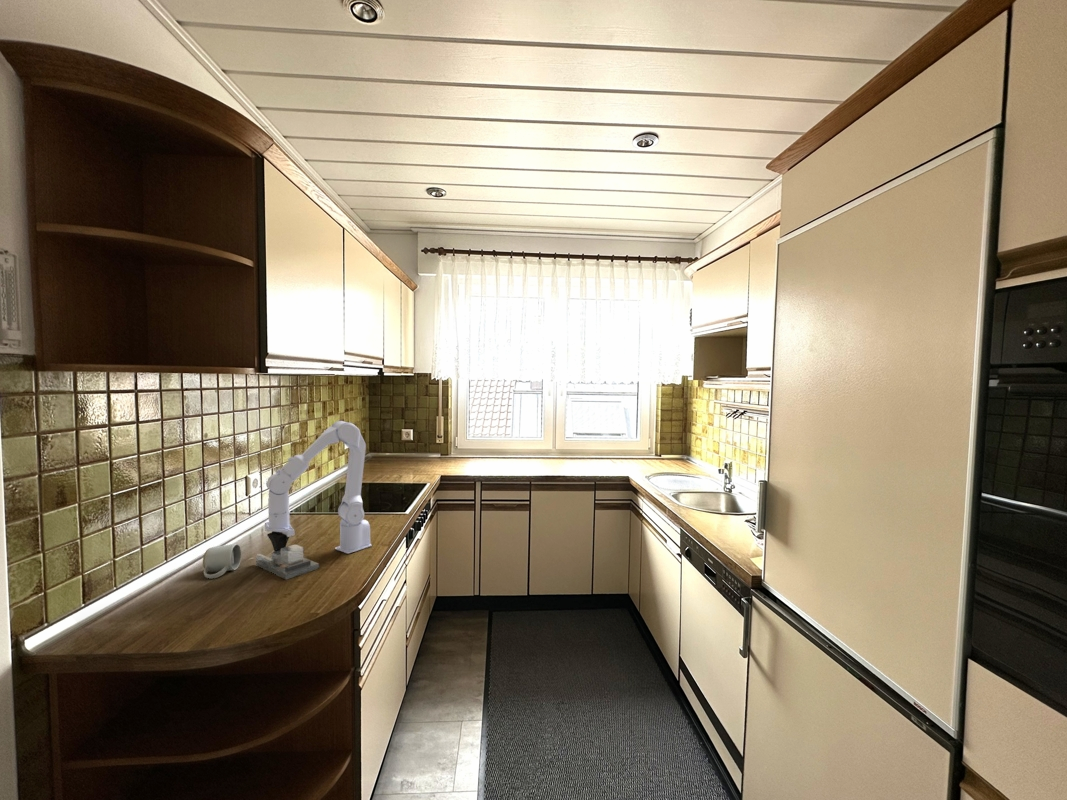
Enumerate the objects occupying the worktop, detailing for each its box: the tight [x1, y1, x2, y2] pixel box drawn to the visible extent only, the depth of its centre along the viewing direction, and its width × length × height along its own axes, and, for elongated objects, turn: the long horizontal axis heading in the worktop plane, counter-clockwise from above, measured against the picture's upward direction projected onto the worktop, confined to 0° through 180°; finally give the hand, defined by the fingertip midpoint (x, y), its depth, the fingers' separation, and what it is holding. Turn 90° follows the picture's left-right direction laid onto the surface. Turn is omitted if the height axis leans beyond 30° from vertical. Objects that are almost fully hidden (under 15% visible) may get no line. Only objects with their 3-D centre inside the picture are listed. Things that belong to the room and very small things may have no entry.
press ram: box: [271, 550, 281, 565], centre depth 145 cm, size 6×4×3 cm, turn 145°
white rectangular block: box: [281, 543, 304, 567], centre depth 142 cm, size 4×4×5 cm
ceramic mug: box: [202, 543, 242, 580], centre depth 140 cm, size 11×8×8 cm
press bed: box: [255, 553, 320, 580], centre depth 144 cm, size 10×20×3 cm, turn 55°
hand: (279, 554), depth 146 cm, fingers closed
